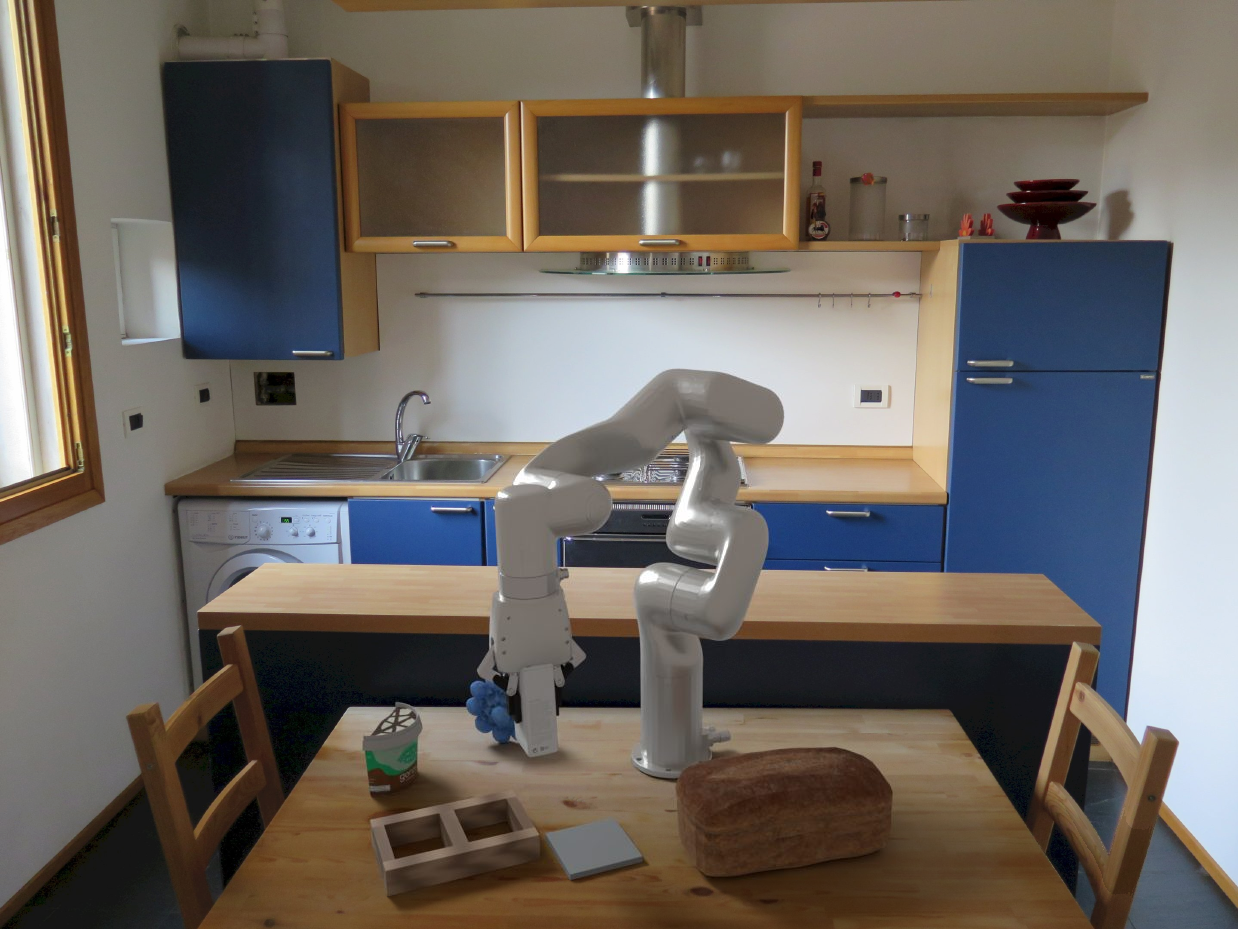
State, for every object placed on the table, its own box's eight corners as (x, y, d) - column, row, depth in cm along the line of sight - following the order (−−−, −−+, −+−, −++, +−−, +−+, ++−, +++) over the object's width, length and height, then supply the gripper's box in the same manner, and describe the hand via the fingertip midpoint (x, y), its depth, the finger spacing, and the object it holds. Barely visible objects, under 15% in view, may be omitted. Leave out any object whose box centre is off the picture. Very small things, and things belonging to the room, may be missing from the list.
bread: (665, 833, 137) (665, 750, 134) (854, 805, 143) (857, 725, 141) (697, 894, 123) (697, 804, 121) (903, 860, 130) (908, 774, 127)
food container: (405, 805, 144) (401, 741, 142) (365, 801, 145) (361, 737, 143) (437, 763, 156) (434, 703, 154) (400, 760, 157) (396, 700, 155)
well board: (513, 812, 142) (512, 789, 141) (540, 859, 131) (539, 835, 130) (371, 843, 135) (369, 820, 134) (387, 896, 123) (385, 871, 123)
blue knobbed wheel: (463, 755, 158) (460, 685, 156) (470, 736, 165) (467, 667, 162) (537, 755, 158) (535, 684, 156) (540, 735, 165) (538, 667, 162)
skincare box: (559, 752, 129) (557, 664, 127) (526, 759, 128) (523, 671, 125) (544, 731, 135) (541, 647, 132) (512, 738, 133) (508, 653, 130)
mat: (613, 822, 139) (613, 817, 139) (642, 861, 130) (642, 856, 130) (545, 838, 135) (545, 833, 135) (570, 880, 126) (570, 874, 126)
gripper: (582, 565, 133) (586, 692, 137) (456, 582, 127) (464, 715, 131) (601, 582, 126) (605, 716, 130) (468, 601, 120) (477, 741, 124)
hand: (534, 714), depth 130 cm, fingers closed on skincare box, 4 cm apart
